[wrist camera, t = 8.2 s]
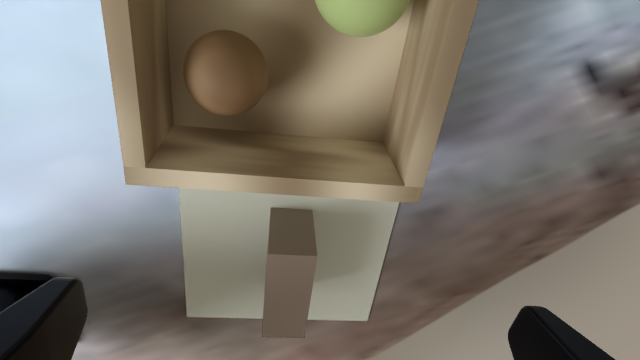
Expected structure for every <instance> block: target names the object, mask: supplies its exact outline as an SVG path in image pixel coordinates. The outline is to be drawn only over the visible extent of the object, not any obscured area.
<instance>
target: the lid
mask: <svg viewBox="0 0 640 360" xmlns="http://www.w3.org/2000/svg"><path fill="white" fill-rule="evenodd" d="M179 199H180V215H181V231H182V247H183V263H184V279H185V295H186V311H187V317H211V318H255V319H263V324H262V337H284V338H305V332H306V326H307V320H344V321H368V317H369V313H370V310H371V306H372V302H373V298H374V295H375V291H376V287H377V283H378V280H379V276H380V272H381V269H382V265H383V261H384V257H385V254H386V250H387V246H388V242H389V239H390V235H391V231H392V228H393V224H394V220H395V216H396V213H397V209H398V205H399V202H388V201H373V200H358V199H342V198H327V197H312V196H296V195H281V194H265V193H250V192H235V191H219V190H204V189H189V188H179Z"/></svg>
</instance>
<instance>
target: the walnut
mask: <svg viewBox="0 0 640 360" xmlns="http://www.w3.org/2000/svg"><path fill="white" fill-rule="evenodd" d="M183 75H184V80H185V84H186V87H187V89H188V91H189V93H190V94H191V96H192V97H193V99H194V100H195V101H196V102H197V103H198V104H199V105H200V106H202V107H203V108H204V109H206V110H208V111H210V112H212V113H215V114H219V115H226V116H231V115H237V114H241V113H244V112H246V111H248V110H250V109H251V108H253V107H254V106H255V105H256V104H257V103H258V102H259V101H260V99H261V98H262V96H263V95H264V92H265V90H266V87H267V83H268V68H267V64H266V60H265V58H264V56H263V54H262V52H261V51H260V49H259V48H258V46H257V45H256V44H255V43H254V42H253V41H251V40H250V39H249V38H247V37H246V36H244V35H242V34H240V33H237V32H234V31H229V30H216V31H212V32H209V33H207V34H205V35H203V36H201V37H200V38H198V39H197V40H196V41H195V42H194V43H193V44H192V45H191V47H190V48H189V50H188V52H187V54H186V57H185V60H184V65H183Z"/></svg>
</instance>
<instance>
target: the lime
mask: <svg viewBox="0 0 640 360" xmlns="http://www.w3.org/2000/svg"><path fill="white" fill-rule="evenodd" d="M409 2H410V0H315V3H316V5H317V8H318V10H319V12H320V13H321V15H322V17H323V18H324V19H325V20H326V22H327V23H328V24H330V25H331V26H332V27H333V28H335V29H336V30H337V31H339V32H341V33H343V34H346V35H349V36H354V37H368V36H373V35H376V34H379V33H381V32H383V31H385V30H387V29H388V28H390V27H391V26H392V25H394V24H395V23H396V22H397V21H398V20H399V18H400V17H401V16H402V15H403V13H404V12H405V10H406V8H407V7H408V5H409Z"/></svg>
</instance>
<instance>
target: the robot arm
mask: <svg viewBox="0 0 640 360" xmlns="http://www.w3.org/2000/svg"><path fill="white" fill-rule="evenodd" d="M86 318H87V304H86V299H85V294H84V289H83V284H82V282H81V280H80V279H78V278H68V277H56V278H53V277H51V276H47V275H23V274H0V360H71V359H72V356H73V353H74V351H75V348H76V345H77V343H78V340H79V337H80V335H81V332H82V329H83V327H84V324H85V321H86ZM508 341H509V344H510V348H511V351H512V354H513V358H514V360H615V359H614V358H612V357H611V356H610V355H608V354H607V353H606V352H604V351H603V350H602V349H600V348H599V347H597V346H596V345H595V344H593V343H592V342H591V341H589V340H588V339H587V338H585V337H584V336H583V335H581V334H580V333H579V332H577V331H576V330H575V329H573V328H572V327H571V326H569V325H568V324H566V323H565V322H564V321H562V320H561V319H560V318H558V317H557V316H556V315H554V314H553V313H552V312H550V311H549V310H547V309H546V308H543V307H539V306H525V307H523V308H522V309H521V310H520V312H519V314H518V315H517V317H516V319H515V320H514V322H513V324H512V325H511V327H510V329H509V332H508Z"/></svg>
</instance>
